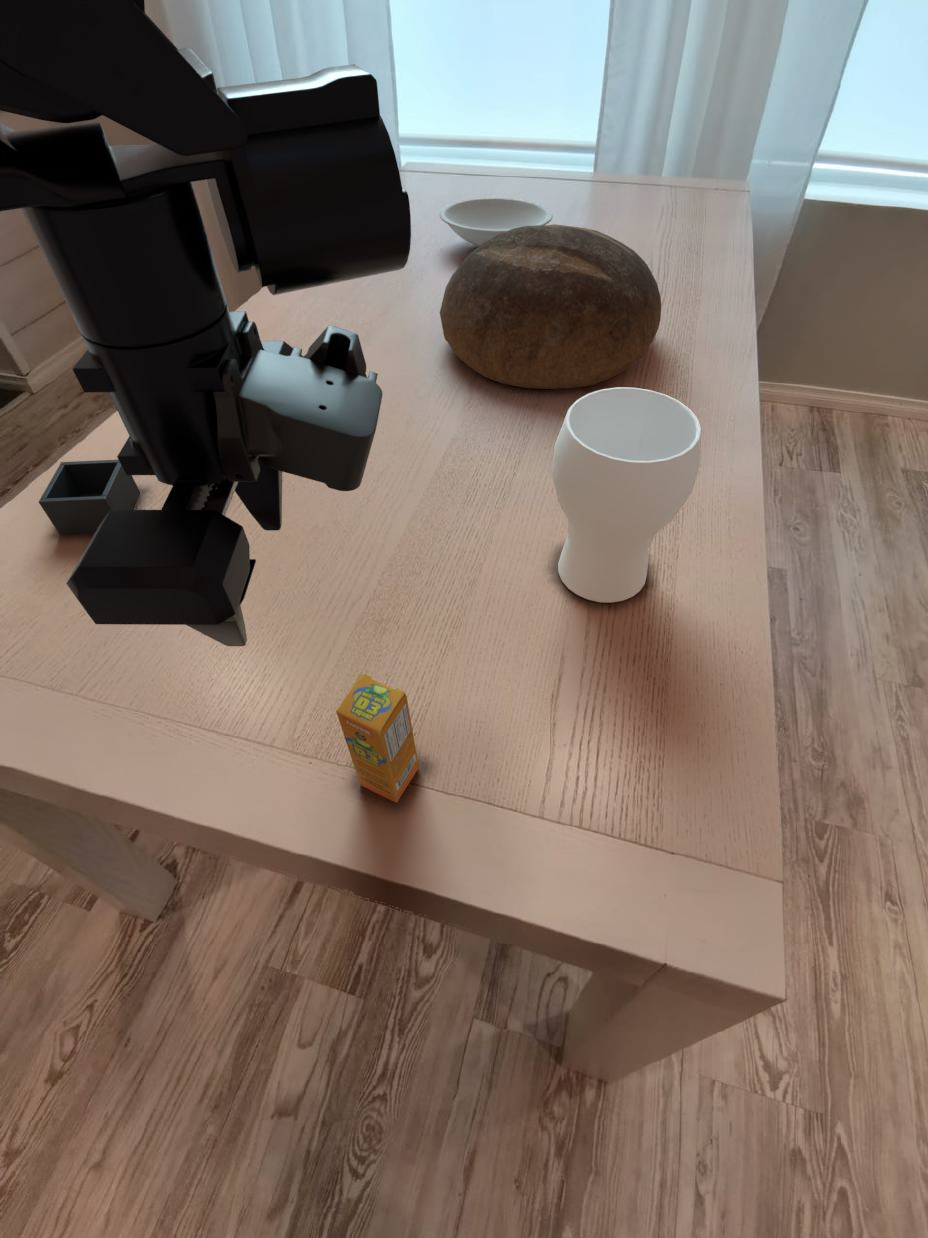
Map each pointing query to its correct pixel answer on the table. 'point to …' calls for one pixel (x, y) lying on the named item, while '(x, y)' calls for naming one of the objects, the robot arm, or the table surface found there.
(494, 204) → the dish
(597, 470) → the cup
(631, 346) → the bread
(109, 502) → the trash bin
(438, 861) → the table surface
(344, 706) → the supplement box
